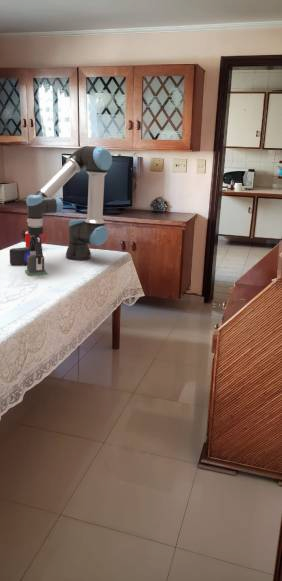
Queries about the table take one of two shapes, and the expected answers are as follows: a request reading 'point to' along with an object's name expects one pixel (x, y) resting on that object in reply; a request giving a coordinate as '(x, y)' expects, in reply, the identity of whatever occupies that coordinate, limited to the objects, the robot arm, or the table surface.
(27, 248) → the computer mouse
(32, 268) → the gray orange-striped box
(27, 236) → the mug
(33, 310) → the table surface
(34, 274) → the header
